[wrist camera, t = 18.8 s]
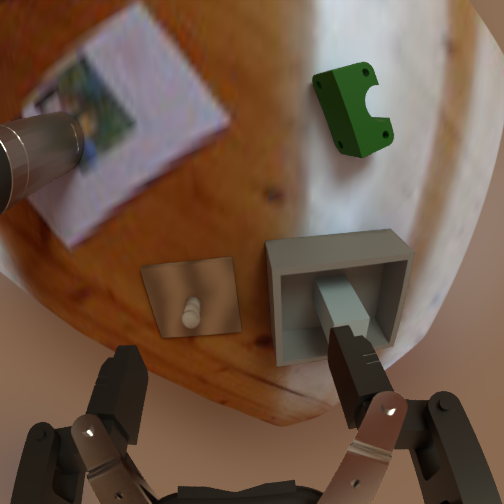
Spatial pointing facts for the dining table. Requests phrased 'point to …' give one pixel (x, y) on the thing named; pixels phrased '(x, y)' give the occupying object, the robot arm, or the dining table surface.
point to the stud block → (193, 297)
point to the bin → (329, 264)
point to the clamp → (352, 110)
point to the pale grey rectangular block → (339, 305)
